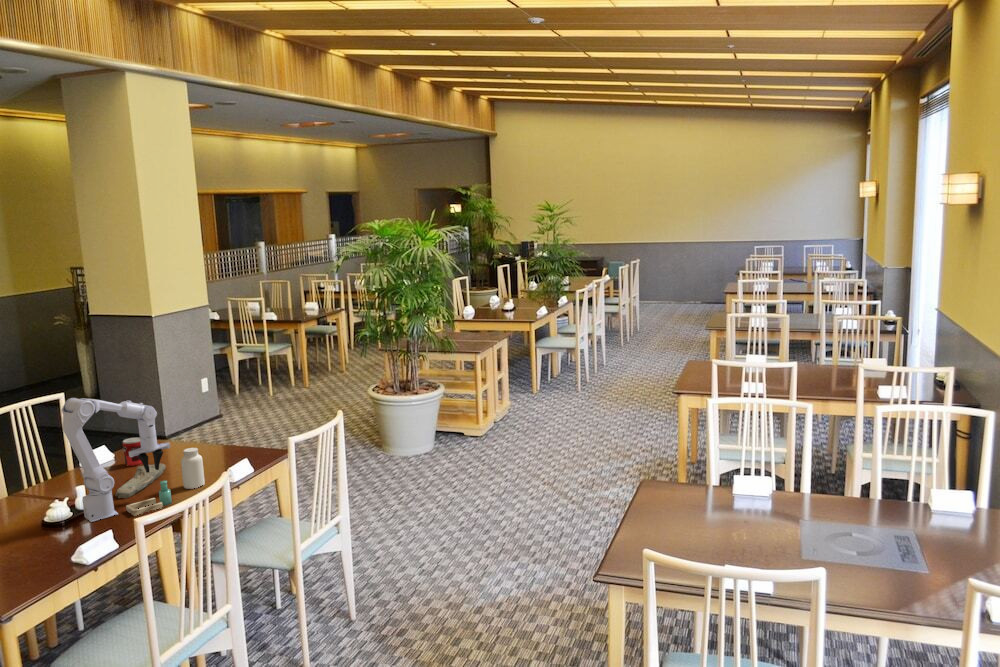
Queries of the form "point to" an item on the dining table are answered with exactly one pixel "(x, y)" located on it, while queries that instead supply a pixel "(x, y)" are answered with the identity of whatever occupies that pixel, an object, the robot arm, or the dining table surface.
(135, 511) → the cradle
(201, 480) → the pill bottle
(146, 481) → the grey rock slab
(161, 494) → the bottle
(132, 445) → the canned food
